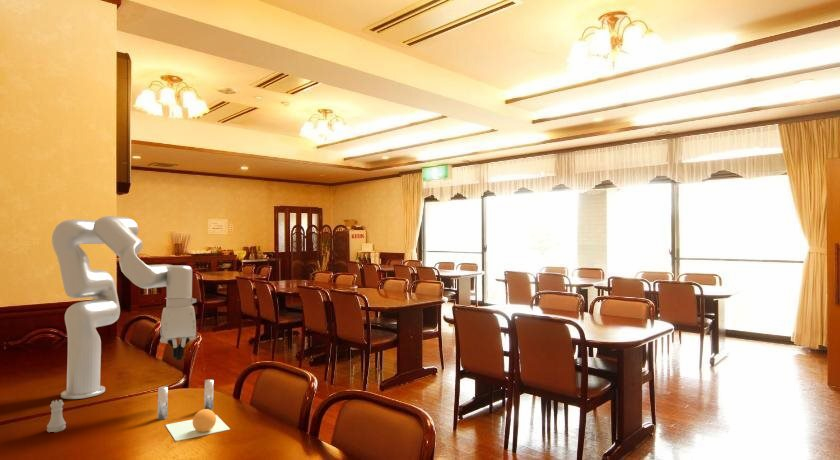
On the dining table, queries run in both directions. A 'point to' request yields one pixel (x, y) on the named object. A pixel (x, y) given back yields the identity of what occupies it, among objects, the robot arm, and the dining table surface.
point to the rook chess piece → (56, 417)
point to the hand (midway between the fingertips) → (178, 359)
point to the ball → (204, 420)
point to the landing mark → (193, 429)
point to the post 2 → (209, 394)
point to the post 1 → (162, 402)
